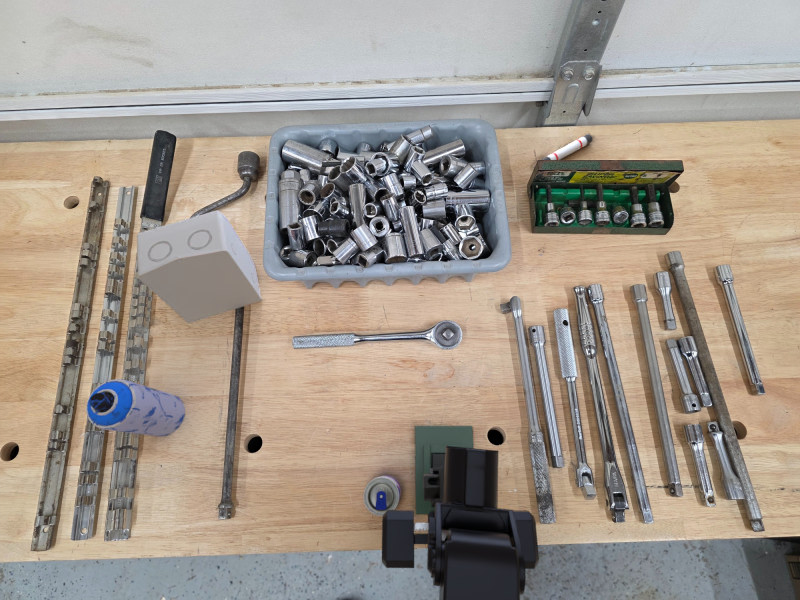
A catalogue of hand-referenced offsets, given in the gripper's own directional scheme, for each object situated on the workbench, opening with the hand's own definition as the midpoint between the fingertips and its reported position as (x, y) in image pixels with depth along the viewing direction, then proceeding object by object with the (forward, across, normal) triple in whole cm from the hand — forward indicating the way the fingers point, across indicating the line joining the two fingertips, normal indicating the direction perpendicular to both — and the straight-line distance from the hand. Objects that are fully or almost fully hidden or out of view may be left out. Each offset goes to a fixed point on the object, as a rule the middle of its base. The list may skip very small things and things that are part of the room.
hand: (452, 529), depth 63 cm
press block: (+13, 0, -8) cm, 15 cm away
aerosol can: (+13, +50, -17) cm, 54 cm away
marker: (+13, -28, -73) cm, 79 cm away
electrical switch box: (+13, +44, -44) cm, 64 cm away
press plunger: (+9, 0, -8) cm, 12 cm away
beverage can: (+13, +10, -4) cm, 17 cm away
